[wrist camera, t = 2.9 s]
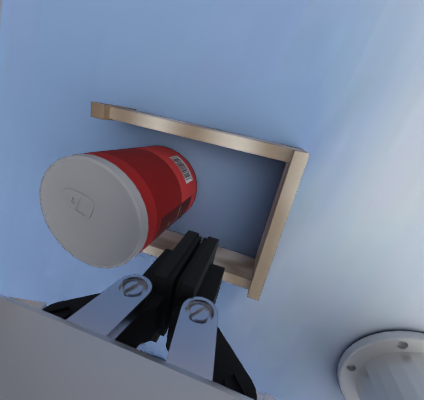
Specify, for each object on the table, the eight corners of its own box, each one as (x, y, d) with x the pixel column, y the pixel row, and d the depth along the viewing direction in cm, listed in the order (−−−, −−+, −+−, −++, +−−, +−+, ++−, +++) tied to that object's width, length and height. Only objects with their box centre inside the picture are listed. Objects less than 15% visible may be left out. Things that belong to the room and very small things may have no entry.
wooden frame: (302, 147, 20) (310, 152, 16) (261, 269, 25) (258, 301, 20) (126, 107, 24) (89, 101, 19) (117, 221, 28) (85, 239, 23)
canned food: (138, 135, 24) (37, 138, 14) (208, 158, 23) (153, 180, 13) (127, 201, 27) (36, 243, 17) (190, 225, 26) (133, 286, 15)
